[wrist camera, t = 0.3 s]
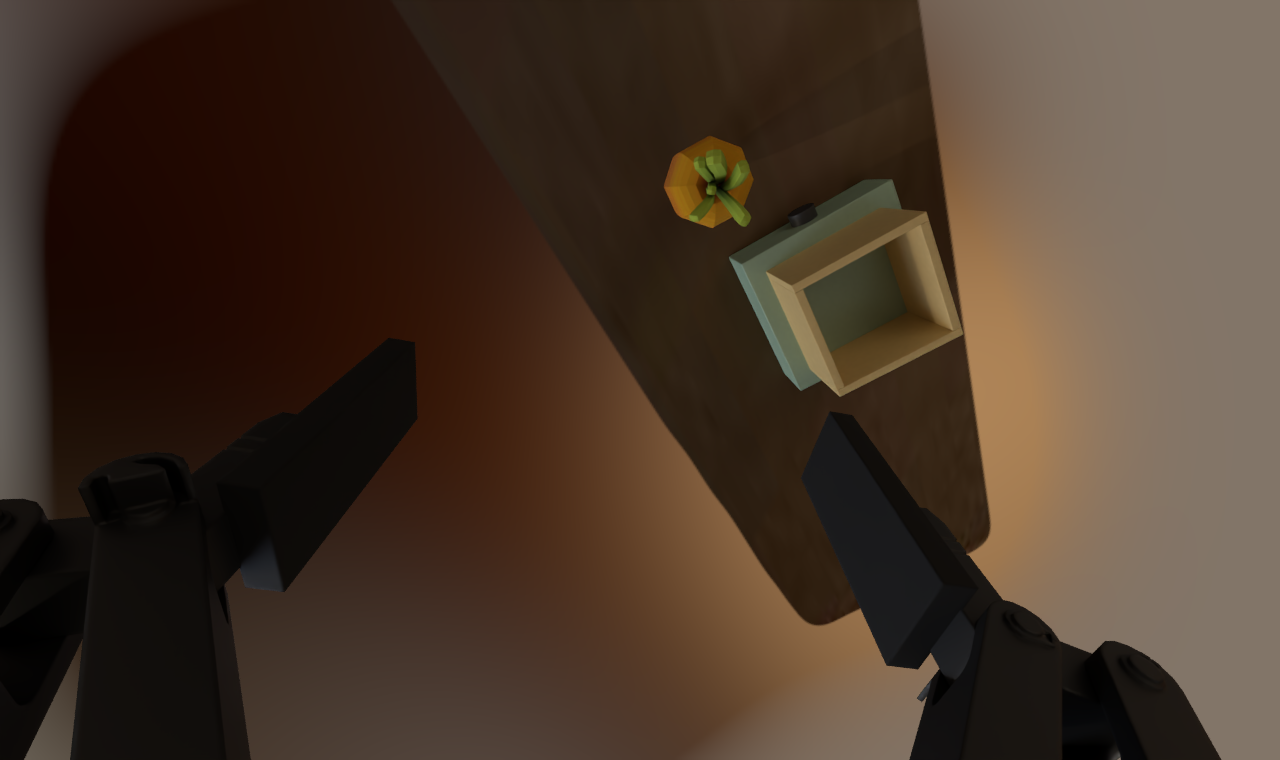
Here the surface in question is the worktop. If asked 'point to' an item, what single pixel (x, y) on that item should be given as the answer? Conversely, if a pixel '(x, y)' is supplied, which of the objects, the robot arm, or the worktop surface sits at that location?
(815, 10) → the worktop surface
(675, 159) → the carrot
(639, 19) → the worktop surface
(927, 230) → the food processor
